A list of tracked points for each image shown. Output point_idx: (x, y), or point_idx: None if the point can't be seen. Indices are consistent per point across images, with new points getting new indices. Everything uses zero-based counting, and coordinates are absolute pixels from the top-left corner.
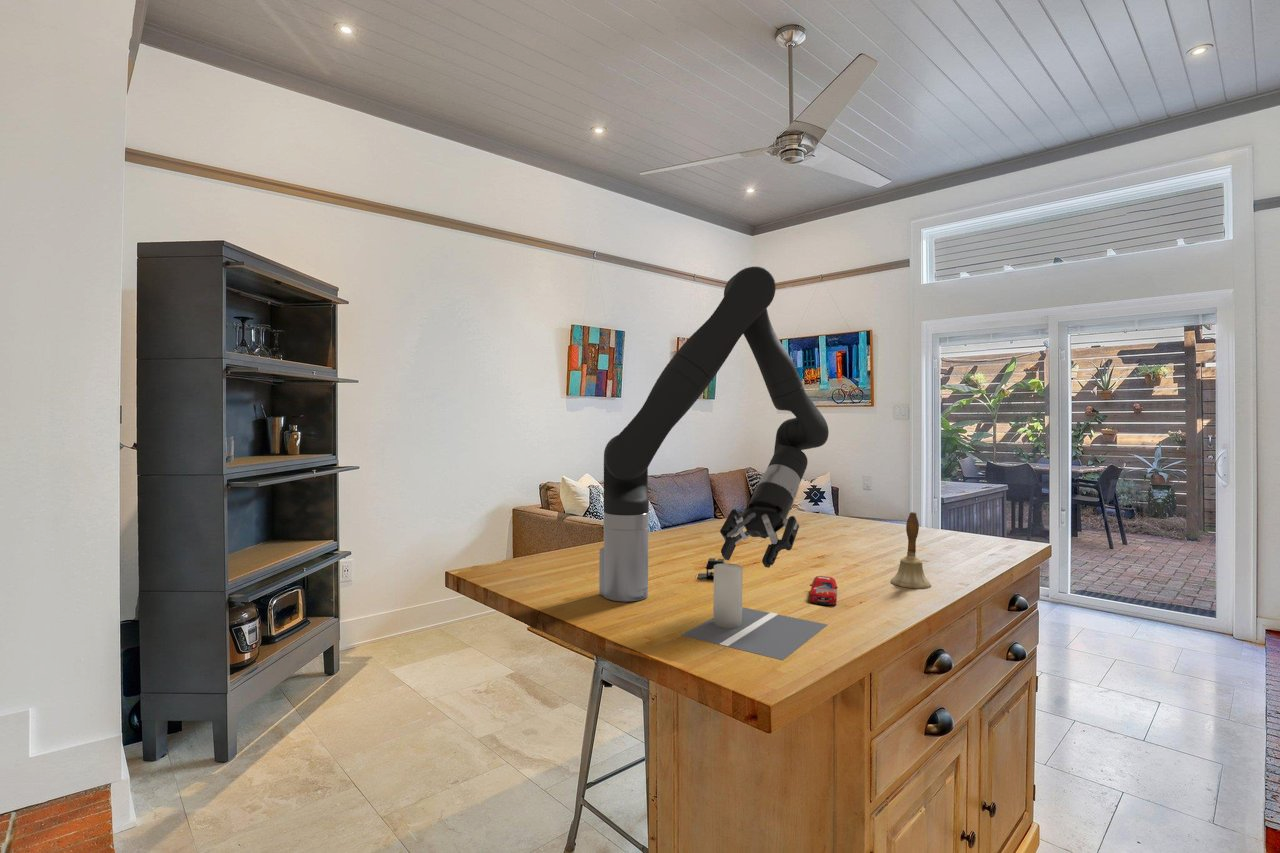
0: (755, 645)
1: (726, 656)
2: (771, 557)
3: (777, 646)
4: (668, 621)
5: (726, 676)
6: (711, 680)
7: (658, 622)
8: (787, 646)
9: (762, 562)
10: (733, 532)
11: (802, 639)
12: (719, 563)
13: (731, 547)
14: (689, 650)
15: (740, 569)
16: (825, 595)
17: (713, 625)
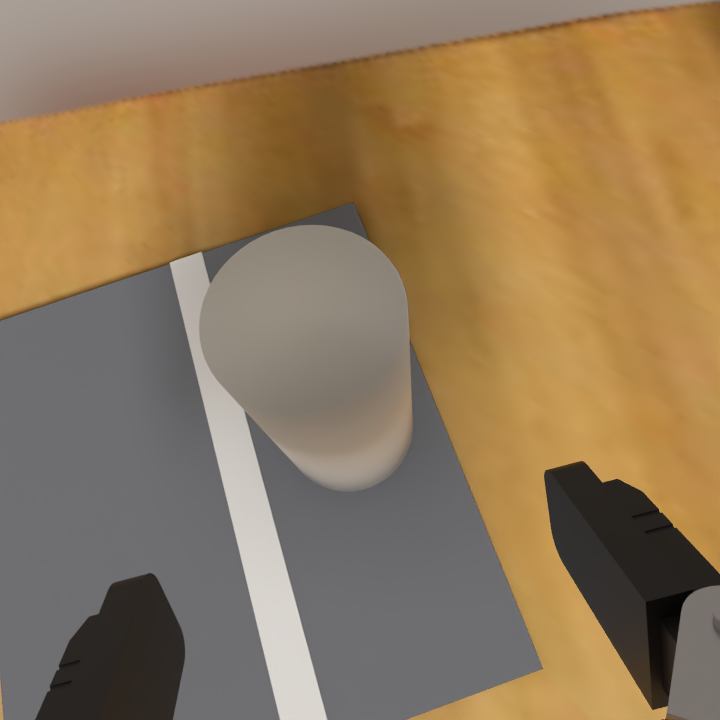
0: (109, 345)
1: (141, 233)
2: (69, 649)
3: (46, 403)
4: (534, 269)
5: (54, 153)
6: (67, 113)
7: (543, 232)
8: (20, 435)
9: (154, 577)
10: (717, 673)
11: (13, 549)
12: None
13: (609, 598)
14: (252, 174)
15: (201, 342)
16: None
17: None
